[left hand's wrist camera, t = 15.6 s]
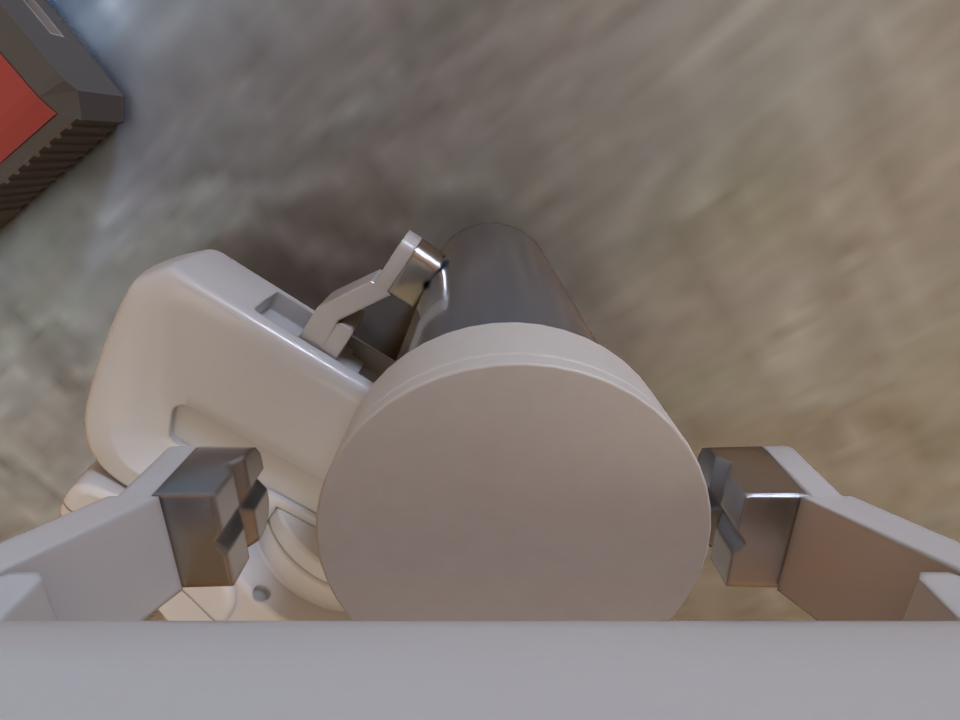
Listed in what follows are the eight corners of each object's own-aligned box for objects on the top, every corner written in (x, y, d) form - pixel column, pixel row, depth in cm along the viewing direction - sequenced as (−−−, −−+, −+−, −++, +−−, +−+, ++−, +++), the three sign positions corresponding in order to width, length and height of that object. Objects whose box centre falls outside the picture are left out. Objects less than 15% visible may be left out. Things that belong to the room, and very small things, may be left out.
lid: (645, 604, 11) (676, 689, 9) (352, 597, 11) (329, 682, 9) (698, 325, 9) (750, 369, 7) (333, 315, 9) (296, 356, 7)
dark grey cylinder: (448, 353, 25) (402, 666, 10) (415, 240, 23) (297, 415, 8) (561, 326, 24) (693, 611, 9) (537, 208, 22) (653, 332, 8)
